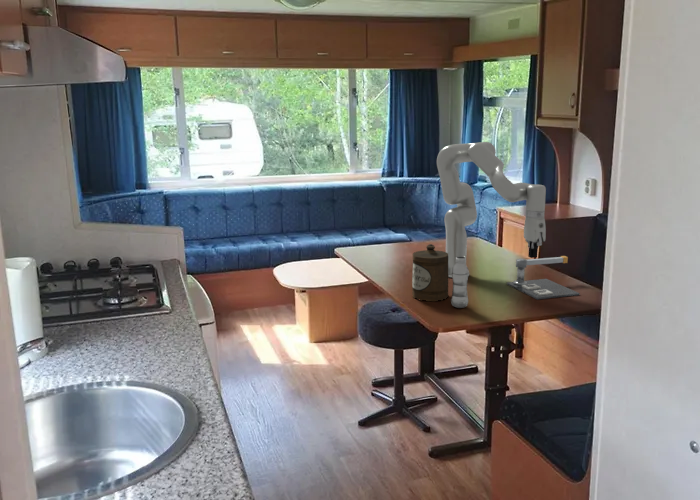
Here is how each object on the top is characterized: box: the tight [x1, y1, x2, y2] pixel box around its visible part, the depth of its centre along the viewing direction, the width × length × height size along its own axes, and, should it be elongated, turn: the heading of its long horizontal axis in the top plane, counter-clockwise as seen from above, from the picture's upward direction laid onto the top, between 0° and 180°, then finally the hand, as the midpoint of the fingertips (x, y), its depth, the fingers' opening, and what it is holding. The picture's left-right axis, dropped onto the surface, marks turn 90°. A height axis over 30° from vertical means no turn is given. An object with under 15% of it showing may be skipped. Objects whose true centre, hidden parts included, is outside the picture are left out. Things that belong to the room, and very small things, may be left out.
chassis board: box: [506, 278, 581, 300], centre depth 273 cm, size 20×24×1 cm
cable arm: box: [515, 255, 569, 269], centre depth 280 cm, size 24×4×3 cm, turn 105°
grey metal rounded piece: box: [512, 267, 528, 285], centre depth 279 cm, size 6×6×7 cm
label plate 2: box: [533, 289, 553, 295], centre depth 265 cm, size 6×5×1 cm
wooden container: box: [411, 243, 449, 302], centre depth 263 cm, size 15×15×22 cm
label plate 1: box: [522, 284, 541, 289], centre depth 273 cm, size 6×5×1 cm
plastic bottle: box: [450, 256, 470, 309], centre depth 248 cm, size 6×7×20 cm
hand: (532, 257), depth 271 cm, fingers closed
